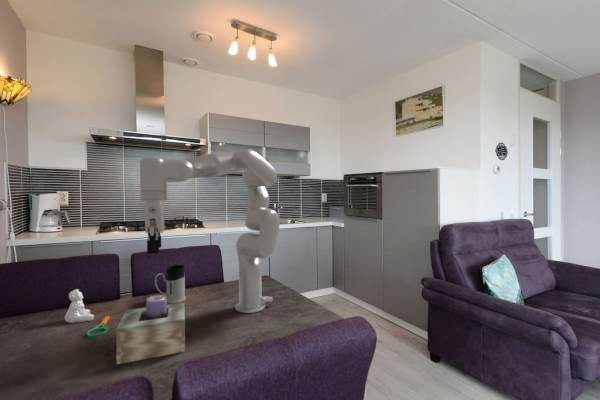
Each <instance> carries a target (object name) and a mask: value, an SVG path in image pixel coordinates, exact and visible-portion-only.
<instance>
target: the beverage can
mask: <svg viewBox="0 0 600 400" xmlns="http://www.w3.org/2000/svg"><path fill="white" fill-rule="evenodd" d="M167 305H168V303H167V299H166V295H164V294H158V295H157V294H156V295H152V296H149V297H147V298H146V303H145V307H146V320H152V319H159V318H166V317H167Z"/></svg>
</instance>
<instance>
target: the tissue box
mask: <svg viewBox="0 0 600 400" xmlns="http://www.w3.org/2000/svg"><path fill="white" fill-rule="evenodd" d="M185 305H186V304H185V301H183V302H178V303H167V317H166V318H159V319H152V320H146V306H145V307H138V308H131V309H126V310H125V312H124V313H123V316H122V317H121V319H120V321H119V324H118V325H117V327H116V329H115V331H116V332H115V333H116V340H115V341H116V344H115V345H116V347H115V348H116V365H120V364H126V363H131V362H136V361H137V362H138V361H143V360H147V359H153V358H160V357H162V356H163V357H164V356H168V355H174V354H179V353H184V352H186V314H185V313H186V312H185V311H186V310H185V309H186V306H185Z"/></svg>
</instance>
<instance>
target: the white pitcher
mask: <svg viewBox="0 0 600 400" xmlns="http://www.w3.org/2000/svg"><path fill="white" fill-rule="evenodd" d="M160 275H162V277H163V282H165V288H166V293H164V292H162V291H161V290H160V288H158V285H157V278H158V277H159V276H160ZM185 276H186V272H185V265H180V264H177V265H170V266H167V267H166V276H165V275H164V273H157V274H156V276H155V278H154V285H155V288H156V290H157V291H158V292H159V293H161V295H165V296H166V299H167V304H176V303H183V302H185V301H186V299H187V297H186V277H185Z"/></svg>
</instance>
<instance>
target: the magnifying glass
mask: <svg viewBox="0 0 600 400" xmlns="http://www.w3.org/2000/svg"><path fill="white" fill-rule="evenodd" d="M109 320H110V316H109V315H107V316H106V315H105V317H103V319H102V320H101V322H100V323H99V324H97V325H95V326H93V328H90V329H89V330H88V331H87V332H86V337H87V338H90V339H91V338H93V339H94V338H98V337H101V336H104V335H105V334H107V333H108V331H109V327H108V326H107V323H108V322H109ZM97 331H103V332H100V333H97V334H92V333H94V332H97Z"/></svg>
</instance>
